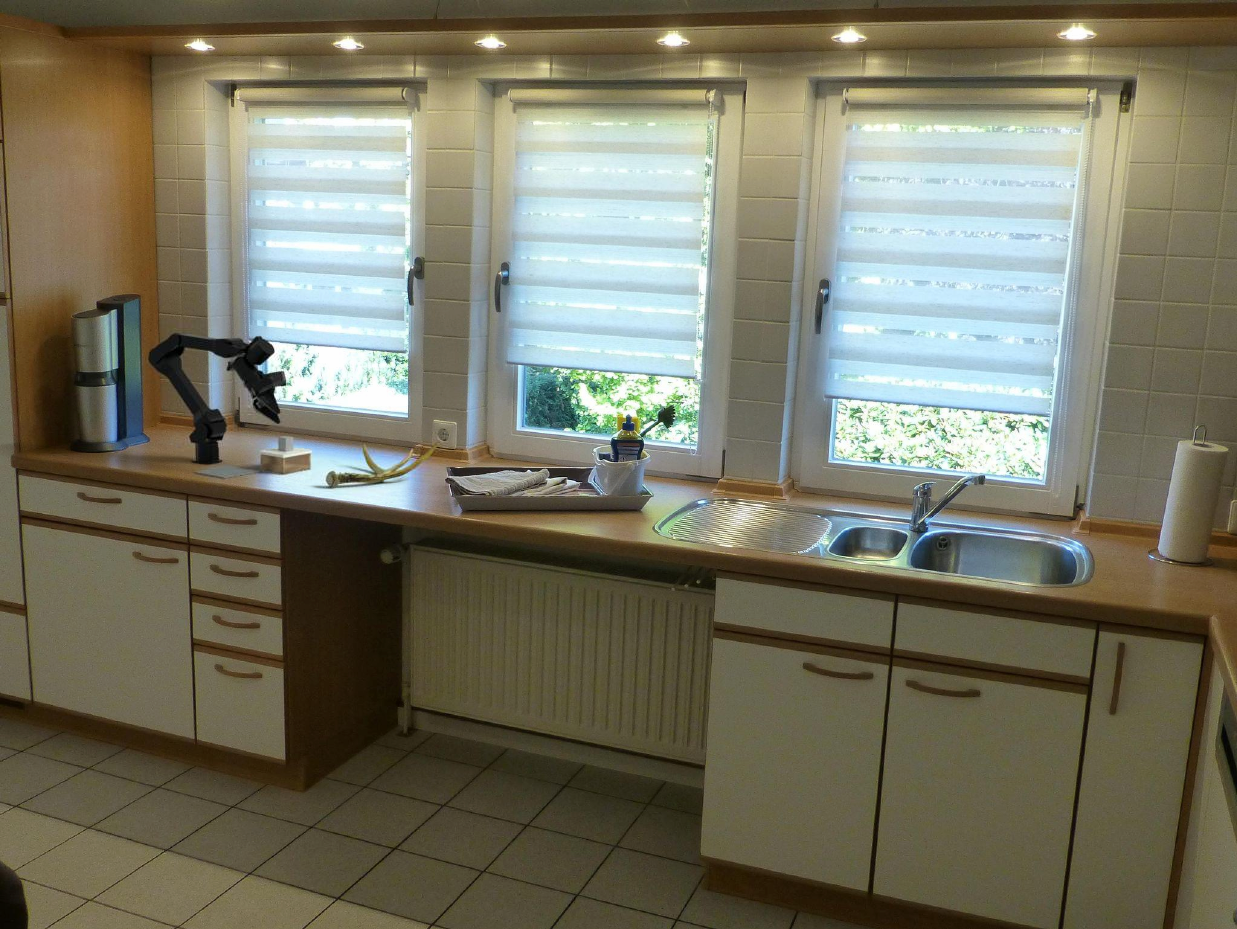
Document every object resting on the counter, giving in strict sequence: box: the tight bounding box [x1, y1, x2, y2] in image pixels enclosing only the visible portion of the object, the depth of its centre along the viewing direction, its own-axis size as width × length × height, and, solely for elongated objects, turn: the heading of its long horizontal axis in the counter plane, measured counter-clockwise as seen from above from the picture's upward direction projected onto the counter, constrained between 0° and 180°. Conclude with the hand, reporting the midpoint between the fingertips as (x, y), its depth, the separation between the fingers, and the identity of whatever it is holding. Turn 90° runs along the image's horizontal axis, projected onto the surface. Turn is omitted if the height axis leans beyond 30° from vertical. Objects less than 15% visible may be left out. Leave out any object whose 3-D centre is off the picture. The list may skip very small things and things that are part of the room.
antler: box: [325, 440, 441, 489], centre depth 314 cm, size 27×32×10 cm
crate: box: [260, 453, 312, 476], centre depth 322 cm, size 9×11×5 cm
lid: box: [258, 435, 313, 458], centre depth 321 cm, size 10×12×5 cm
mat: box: [194, 464, 260, 479], centre depth 314 cm, size 12×13×1 cm
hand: (279, 418), depth 317 cm, fingers open, 9 cm apart
